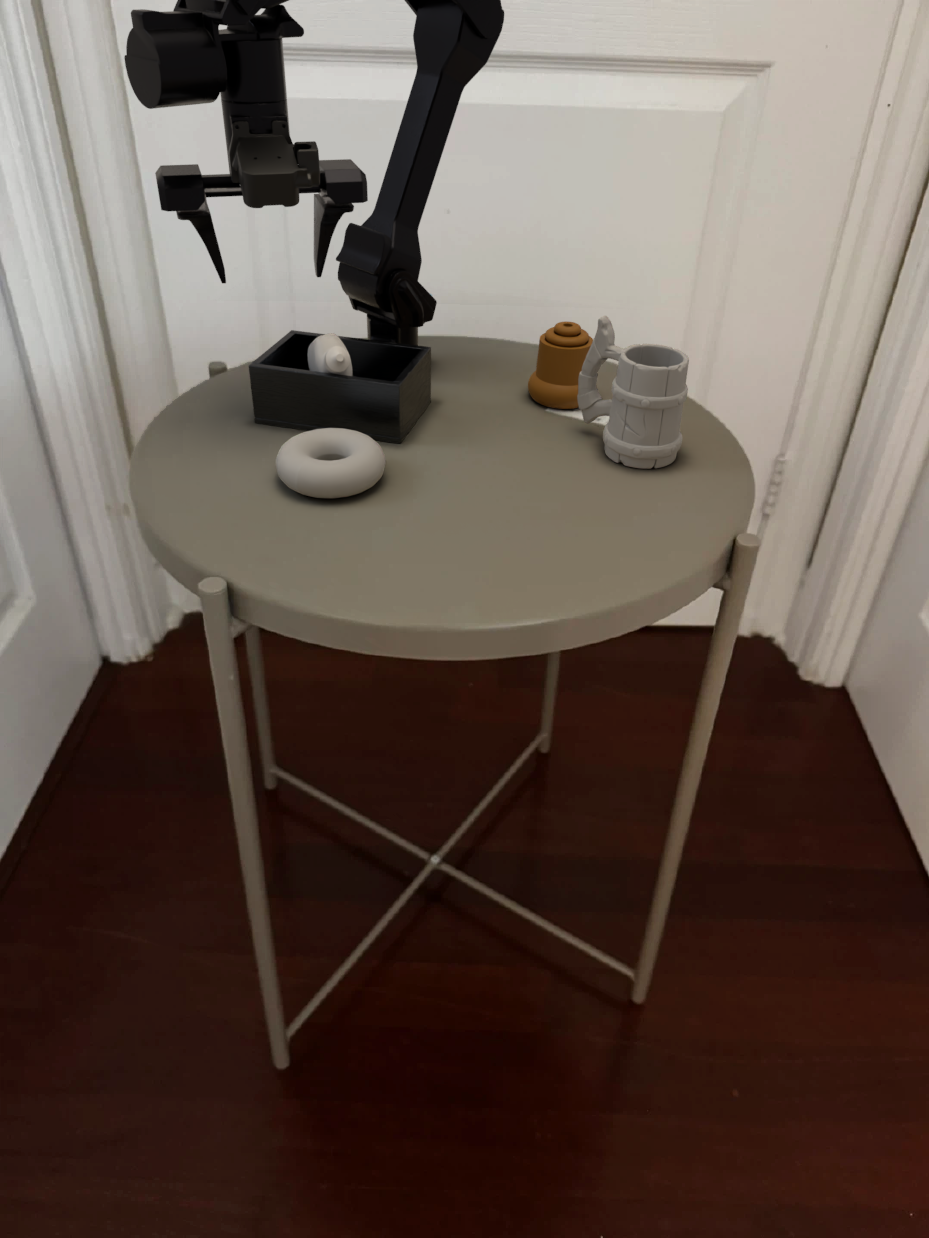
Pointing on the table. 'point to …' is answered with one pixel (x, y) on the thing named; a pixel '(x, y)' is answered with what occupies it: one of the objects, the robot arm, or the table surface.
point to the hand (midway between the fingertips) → (271, 279)
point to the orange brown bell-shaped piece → (559, 366)
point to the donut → (330, 463)
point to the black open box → (343, 387)
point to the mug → (636, 399)
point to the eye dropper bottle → (329, 355)
